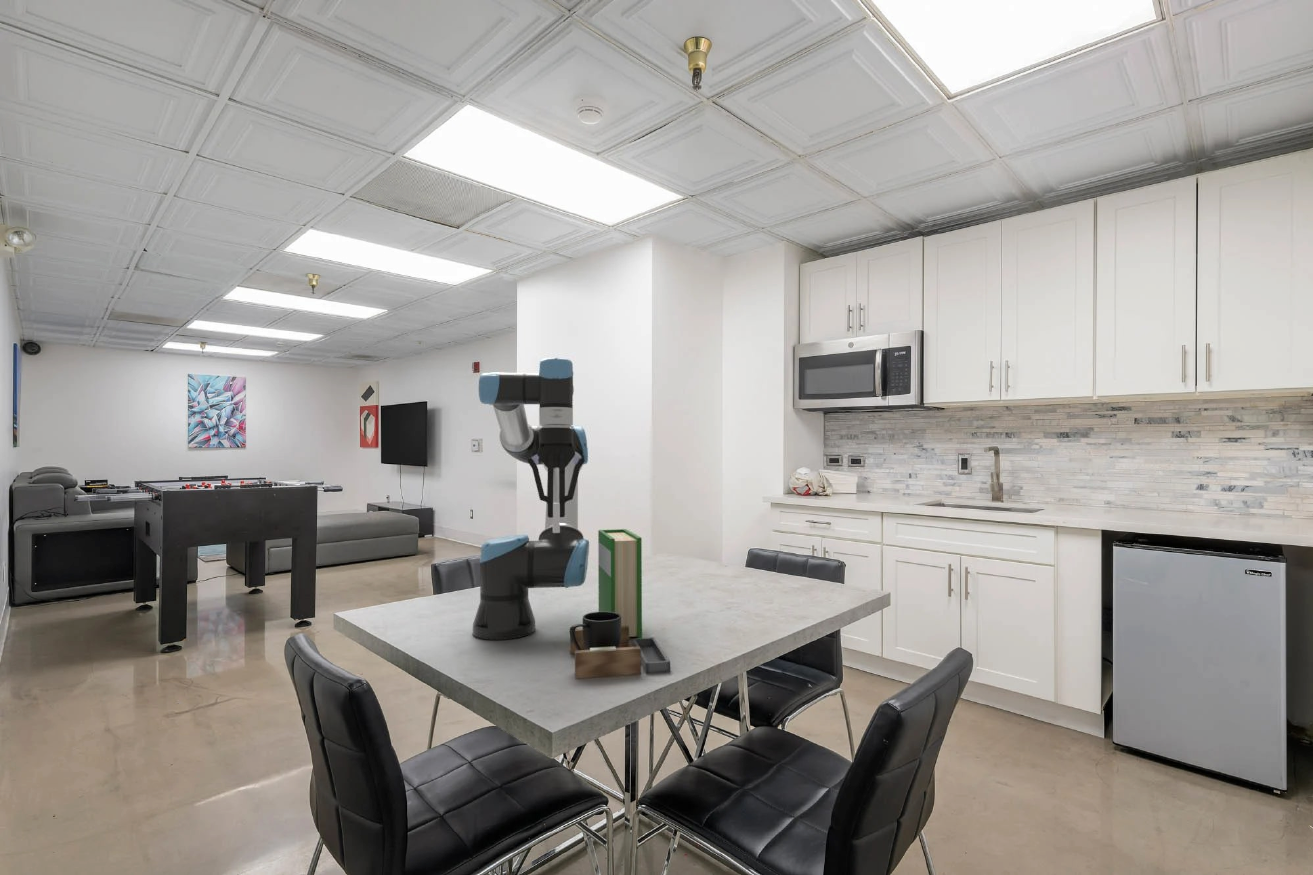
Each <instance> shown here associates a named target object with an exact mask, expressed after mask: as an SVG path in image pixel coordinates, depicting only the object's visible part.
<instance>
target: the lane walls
mask: <svg viewBox="0 0 1313 875" xmlns="http://www.w3.org/2000/svg"><path fill="white" fill-rule="evenodd" d="M575 638H576V640H577V643H578V645H579V646H580V648H581V650H577V649H576V647H575V645H574V644H573V642H572V640H571V637H570V636H569V653H570V654H571V655H574V679H575V680H576V679H577V680H578V679H589V678H590V679H591V678H593V679H594V678H602V677H603V678H605V677H606V678H607V677H615V676H616V677H618V676H632V675H641V674H642V665H641V648H640V646H638V647H632V646H630V637H629V627H628V626H621V638H620V643H619V648H615V646H614V647H599V648H590V650H586V649H585V644H584V639H583V627H582V628H576V629H575Z"/></svg>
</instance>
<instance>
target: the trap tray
mask: <svg viewBox="0 0 1313 875" xmlns="http://www.w3.org/2000/svg"><path fill="white" fill-rule="evenodd" d="M631 641H632V646H631V647H638V646H640V648H641V668H642V669H643V671H644V673H645V674H646V673H647V674H657V673H658V674H660V673H668V672H667V671H670V672H671V661H670V660H669V658H668V656H667V655H666V653H665V652H664V650H663V649H662V647H661V646H660V644H659V643H658V641H657V640H656V638H655V637H642V638H632V640H631ZM659 672H660V673H659Z"/></svg>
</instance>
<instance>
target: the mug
mask: <svg viewBox="0 0 1313 875" xmlns="http://www.w3.org/2000/svg"><path fill="white" fill-rule="evenodd" d="M580 627H582V628H583V639H584V644H585V649H586V650H590V648H599V647H614V646H615V648H619V643H620V638H621V615H620V614H618V613H615V612H607V611H601V612H599V611H593V612H589V613H586V614H584V615H583V616H582V623H578V624H573V625H571V626H570V628H569V638H570V637H571V640H572V642H573V644H574V645H575V647H576V649H577V650H581V648H580V646H579V645H578V643H577V640H576V638H575V629H578V628H580Z"/></svg>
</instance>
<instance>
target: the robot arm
mask: <svg viewBox="0 0 1313 875" xmlns="http://www.w3.org/2000/svg"><path fill="white" fill-rule="evenodd" d="M574 390H575V389H574V367H573V362H572V360H571V359H568V358H563V357H562V358H561V357H548V358H543V359H541V360H540V362H539V371H538V372H530V373H529V372H528V373H527V372H498V371H495V372H484V373H482V374H481V375H480V376H479V379H478V397H479V401H480V403H481V404H484V405H490V406H493V411H494V413H495V416H496V420H497V424H498V426H499V429H500V431H499V441H500V445H501V447H502V448H503V449H504V450H505V452H506V453H507V454H508V455H510V456H511V457H512V458H514V459H516V460H517V461H519V462H522V463H526V464H529V466H530V467H531V469H532V474H533V477H534V481H535V485H536V488H537V493H538V497H539V500H540V501H543V502H545V503H546V504H545V518H544V519H545V522H544V529H543V530H542V531H541V532H540V534H539V535H538V540H530V538H529V535H527V534H514V535H507V536H501V537H496V538H493V539H489V540H486V541H485V542H484V543H483V544H482V545H481V548H480V556H479V557H480V558H479V563H480V566H479V569H480V574H479V577H480V578H479V580H480V581H479V584H480V588H479V591H480V595H479V598H480V600H479V603H478V608H477V610H476V613H475V617H474V620H473V622H472V635H473V636H474V637H476V638H479V639H482V640H483V639H484V640H492V641H494V640H496V641H498V640H510V639H511V640H512V639H518V638H522V637H525V636H528V635H530V634H533V633H534V632H535V631H536V619H535V615H534V611H533V609H532V607H531V603H530V599H529V589H541V588H542V589H545V588H546V589H548V588H565V589H568V588H570V587H580V586H582V585H583V584H584V583H585V580H586V579H587V573H588V565H589V554H590V541H589V540H588V539H585V538H584V535H583V533H582V532H581V530H579V518H578V517H579V508H578V506H579V483H578V482H579V474H580V472H581V470H582V469H583V467H584V465H586V464H588V461H589V450H588V439H587V435H586V431H585V428H583V427H582V426H579V425H574V405H573V404H574V403H573V401H574V398H573V397H574V392H575V391H574ZM525 405H539V409H538V410H539V411H538V412H539V413H538V414H539V416H538V420H539V423H538V424H539V425H530V424H529V423H528V419H527V418H528V417H527V413H526V408H525ZM539 465H543V466H542V467H543V469H544V470H545V471H546V472H547V480H546V482H547V484H546V495H545V491H544V488H543V483H542V480H541V476H540V472H539V467H538V466H539Z"/></svg>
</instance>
